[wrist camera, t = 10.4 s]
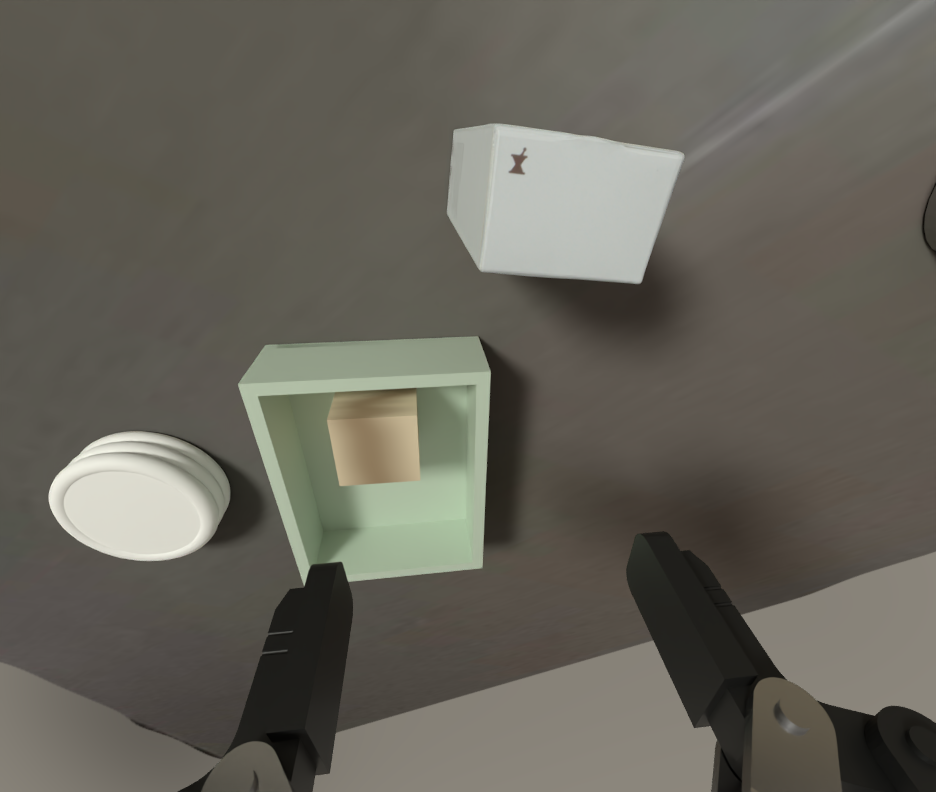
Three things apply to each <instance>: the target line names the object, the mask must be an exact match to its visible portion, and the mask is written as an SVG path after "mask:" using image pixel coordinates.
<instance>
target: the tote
mask: <svg viewBox="0 0 936 792" xmlns="http://www.w3.org/2000/svg"><path fill="white" fill-rule="evenodd" d="M490 378H491V371H490V368H489V365H488V362H487V359H486V357H485V354H484V351H483V348H482V345H481V343H480V340H479V337H478V336H473V337H448V338H424V339H399V340H375V341H350V342H325V343H301V344H276V345H265V347H264V348H263V349H262V351H261V352H260V354H259V355H258V357H257V358H256V359H255V361H254V362H253V364H252V365H251V366H250V368H249V369H248V371H247V372H246V374H245V375H244V376H243V378H242V379H241V381H240V382H239V383H238V386H239V389H240V392H241V395H242V398H243V401H244V404H245V407H246V410H247V413H248V416H249V419H250V422H251V425H252V429H253V432H254V435H255V438H256V441H257V444H258V447H259V450H260V453H261V456H262V459H263V462H264V465H265V468H266V471H267V474H268V477H269V480H270V483H271V486H272V489H273V493H274V496H275V499H276V502H277V505H278V508H279V511H280V514H281V517H282V520H283V523H284V526H285V529H286V532H287V535H288V538H289V541H290V544H291V547H292V550H293V553H294V557H295V560H296V563H297V566H298V569H299V572H300V575H301V578H302V581H303V584H304V586H305V582H306V579H307V575H308V571H309V569H310V567H311V565H313V564H321V563H331V562H342V563H343V566H344V569H345V573H346V576H347V580H348V582H350V581H359V580H369V579H379V578H389V577H399V576H409V575H418V574H428V573H438V572H448V571H458V570H468V569H478V568H482V564H483V541H484V518H485V494H486V471H487V448H488V425H489V401H490ZM402 388H417V406H418V425H419V451H420V481H408V482H393V483H379V484H364V485H350V486H339V480H338V475H337V470H336V465H335V460H334V455H333V450H332V444H331V439H330V434H329V429H328V424H327V418H328V414H329V411H330V408H331V404H332V401H333V398H334V394H335V392H346V391H365V390H383V389H402Z"/></svg>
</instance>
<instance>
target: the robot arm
mask: <svg viewBox="0 0 936 792" xmlns="http://www.w3.org/2000/svg"><path fill="white" fill-rule="evenodd" d="M924 231H925V236H926V240H927V242H928V243H929V245H930V247H931V248H932V249H933V250H935V251H936V186H935V188H934V190H933V193H932V195H931V197H930V199H929V203H928V206H927V210H926V213H925V223H924ZM626 574H627V581H628V585H629V588H630V591H631V593H632V595H633V597H634V599H635V602H636V604H637V606H638V608H639V610H640V612H641V615H642V617H643V619H644V621H645V623H646V625H647V627H648V630H649V632H650V634H651V636H652V638H653V640H654V642H655V645H656V647H657V649H658V651H659V653H660V655H661V658H662V660H663V662H664V664H665V666H666V668H667V670H668V673H669V675H670V677H671V679H672V681H673V683H674V685H675V688H676V690H677V692H678V694H679V696H680V698H681V701H682V703H683V705H684V707H685V709H686V711H687V713H688V716H689V718H690V720H691V722H692V724H693V726H694V728H698V727H706V726H711V728H712V730H713V732H714V734H715V736H716V738H717V742H716V747H715V758H714V768H713V779H712V790H711V792H936V723H934V722H933V721H932V720H930V719H929V718H927V717H925V716H923V715H922V714H920V713H918V712H916V711H913V710H911V709H908V708H905V707H899V706H888V707H885V708H883V709H882V710H881V711H880V712H878V713H877V714H876V715H875V716H873V715H869V714H865V713H861V712H856V711H852V710H848V709H843V708H840V707H836V706H831V705H828V704H825V703H822V702H819V701H817V700H815V699H814V698H813V697H812V696H811V695H810V694H809V693H808V692H806V691H805V690H804V689H802V688H801V687H799V686H798V685H796V684H794V683H792V682H790V681H787V679H785V677H784V676H783V675H782V674H781V673H780V672H779V671H778V669H777V668H776V667H775V665H774V664H773V662H772V661H771V659H770V658H769V656H768V655H767V653H766V652H765V650H764V649H763V648H762V646H761V644H760V643H759V642H758V640H757V638H756V637H755V636H754V634H753V633H752V631H751V630H750V628H749V627H748V625H747V624H746V622H745V621H744V619H743V618H742V616H741V615H740V613H739V612H738V610H737V609H736V607H735V606H733V605H732V603H731V602H732V601H731V600H730V598H729V597H728V595H727V594H726V592H725V591H724V589H721V585H720V584H719V582H718V581H717V579H716V578H715V576H714V575H713V573H712V572H711V570H710V569H709V567H708V566H707V565H706V564H705V563H704V562H702V561H701V560H700V559H699V558H698V557H697V556H695V555H694V554H693V553H692V552H691V551H690V550H687V551H680V550H679V548H678V547H677V545H676V543H675V542H674V540H673V539H672V537H671V536H670V535H669V534H668V533H667V532H654V533H643V534H637V535H636V537H635V540H634V543H633V547H632V550H631V554H630V557H629V561H628V564H627V569H626ZM352 616H353V599H352V593H351V590H350V586H349V583H348V580H347V576H346V573H345V569H344V566H343V563H342V562H331V563H321V564H313V565H311V567H310V569H309V571H308V575H307V579H306V582H305V586H304V588H295V589H290V590H289V591H288V592H287V594H286V595H285V597H284V598H283V600H282V601H281V602H280V604H279V605H278V607H277V608H276V609H275V612H274V616H273V619H272V622H271V625H270V628H269V632H268V633H269V634H268V637H267V638H266V641H265V644H264V648H263V651H262V652H263V654H262V656H261V657H260V660H259V663H258V667H257V670H256V673H255V676H254V679H253V683H252V686H251V689H250V692H249V695H248V699H247V702H246V705H245V708H244V711H243V715H242V718H241V721H240V724H239V727H238V730H237V733H236V735H235V738H234V740H233V742H232V744H231V746H230V747H229V749H228V750H227V752H226V753H225V755H224V756H223V757H222V759H221V760H220V761H219V763H217V765H216V766H215V767H214V768H213V769H212V770H211V771H210V772H208V773H207V774H206V775H205V776H204V777H202V778H201V779H199V780H198V781H197V782H195V783H193V784H191V785H190V786H188V787H186V788H184V789H182V790H180V791H178V792H312V791H313V785H314V779H315V775H322V774H329V773H330V768H331V761H332V754H333V747H334V740H335V733H336V727H337V720H338V713H339V706H340V699H341V692H342V686H343V679H344V672H345V665H346V658H347V651H348V645H349V638H350V631H351V624H352Z"/></svg>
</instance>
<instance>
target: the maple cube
mask: <svg viewBox="0 0 936 792" xmlns="http://www.w3.org/2000/svg"><path fill="white" fill-rule="evenodd" d="M327 424H328V429H329V434H330V439H331V444H332V450H333V455H334V460H335V465H336V470H337V475H338V480H339V486H350V485H364V484H379V483H393V482H408V481H420V451H419V425H418V406H417V388H402V389H383V390H365V391H346V392H335V394H334V398H333V401H332V404H331V408H330V411H329V414H328V418H327Z"/></svg>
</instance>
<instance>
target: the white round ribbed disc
mask: <svg viewBox="0 0 936 792" xmlns="http://www.w3.org/2000/svg"><path fill="white" fill-rule="evenodd" d="M230 492H231V491H230V485H229V481H228V479H227V477H226V475H225V473H224V471H223V470H222V468H221V467H220V466H219V465H218V464H217V463H216V462H215V461H214V460H213V459H212V458H211V457H210V456H209V455H207V454H206V453H205V452H203V451H202V450H200V449H199V448H197V447H195V446H194V445H192V444H190V443H187V442H185V441H183V440H180V439H178V438H175V437H172V436H168V435H165V434H160V433H155V432H146V431H129V432H121V433H116V434H111V435H109V436H106V437H103V438H101V439H99V440H97V441H95V442H93V443H91V444H90V445H89V446H87V447H86V448H85V449H84V450H83V451H82V452H81V453H80V455H78V456H77V457H76V458H74V459H73V460H72V461H71V462H70V463H69V465H68V466H67V467H66V468H64V469H63V470H62V471H61V472H60V473H59V474H58V475H57V476H56V478H55V479H54V481H53V483H52V485H51V488H50V491H49V504H50V508H51V510H52V512H53V514H54V516H55V517H56V519H57V521H58V522H59V523H60V525H61V526H62V527H63V528H64V529H65V530H66V531H67V532H68V533H69V534H70V535H72V536H73V537H74V538H76V539H77V540H79V541H80V542H82V543H84V544H85V545H87V546H89V547H91V548H93V549H96V550H98V551H100V552H103V553H106V554H109V555H112V556H116V557H120V558H125V559H131V560H139V561H160V560H168V559H173V558H178V557H182V556H185V555H188V554H190V553H192V552H195V551H196V550H198V549H200V548H201V547H202V546H204V545H205V544H206V543H207V542H208V541H209V540H210V539H211V538H212V536H213V535H214V533H215V532H216V530H217V527H218V524H219V523H220V521H221V519H222V518H223V514H224V513H225V511H226V509H227V507H228V505H229V502H230Z"/></svg>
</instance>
